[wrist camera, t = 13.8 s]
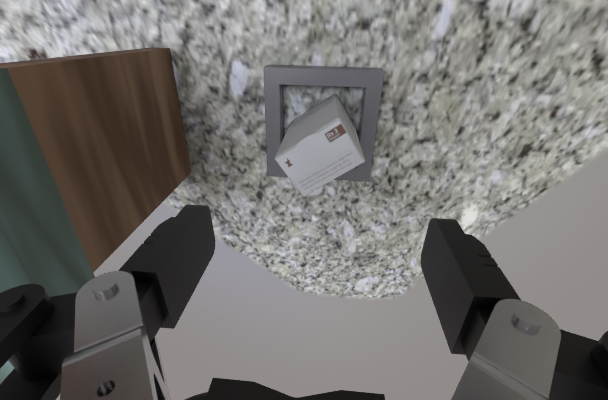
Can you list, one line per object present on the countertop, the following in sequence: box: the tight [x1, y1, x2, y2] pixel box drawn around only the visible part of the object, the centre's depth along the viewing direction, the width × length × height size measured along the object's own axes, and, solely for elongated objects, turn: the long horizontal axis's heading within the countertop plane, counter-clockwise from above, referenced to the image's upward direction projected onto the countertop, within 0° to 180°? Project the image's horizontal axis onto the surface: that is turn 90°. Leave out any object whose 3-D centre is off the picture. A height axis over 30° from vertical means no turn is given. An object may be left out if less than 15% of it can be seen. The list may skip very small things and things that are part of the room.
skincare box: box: [275, 94, 365, 196], centre depth 29 cm, size 6×4×12 cm
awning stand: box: [0, 48, 191, 384], centre depth 24 cm, size 6×15×26 cm, turn 179°
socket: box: [264, 65, 384, 181], centre depth 33 cm, size 12×12×2 cm
